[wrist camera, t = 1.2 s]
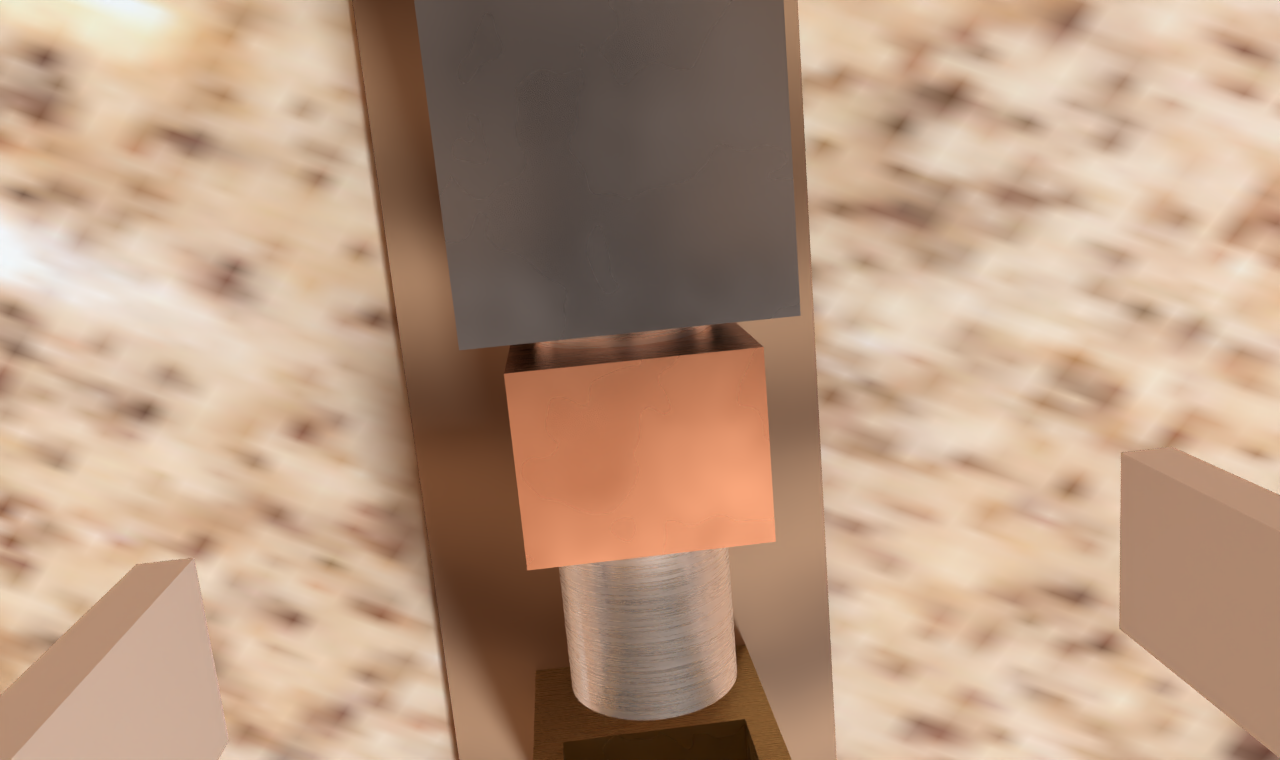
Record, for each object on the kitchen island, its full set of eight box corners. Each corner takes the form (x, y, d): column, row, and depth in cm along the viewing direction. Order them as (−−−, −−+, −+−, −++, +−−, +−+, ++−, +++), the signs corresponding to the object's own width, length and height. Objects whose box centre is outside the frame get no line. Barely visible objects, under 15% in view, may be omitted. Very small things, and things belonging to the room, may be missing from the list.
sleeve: (451, -45, 28) (393, -165, 18) (691, -63, 29) (773, -191, 18) (491, 283, 30) (459, 350, 20) (714, 261, 30) (800, 315, 20)
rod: (475, -35, 24) (446, -109, 18) (683, -51, 25) (733, -130, 18) (551, 624, 28) (551, 772, 21) (731, 602, 28) (788, 742, 22)
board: (346, -77, 28) (340, -83, 27) (784, -109, 28) (791, -117, 28) (473, 834, 34) (472, 850, 33) (832, 787, 35) (838, 802, 34)
